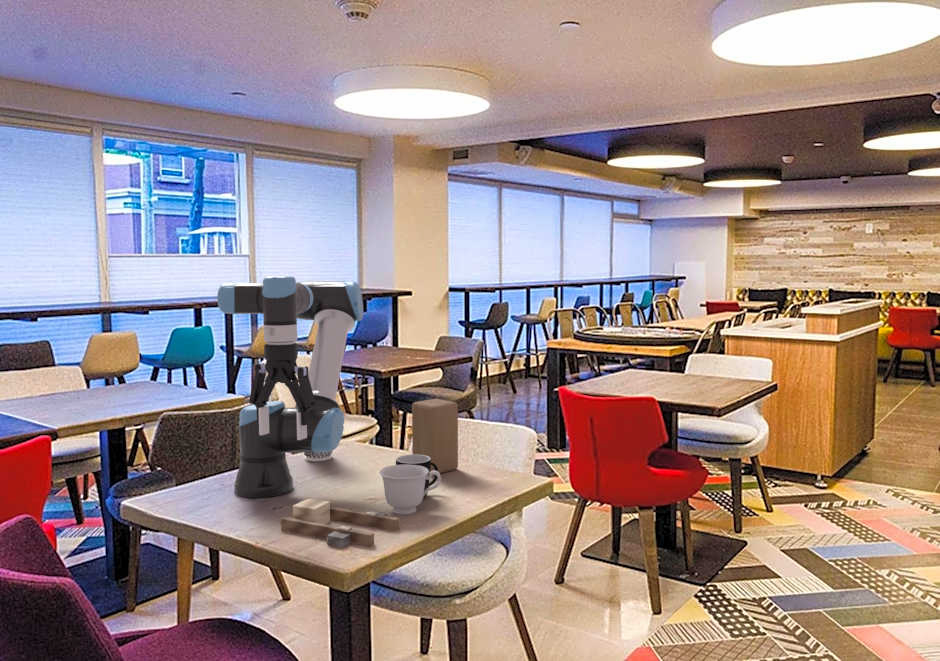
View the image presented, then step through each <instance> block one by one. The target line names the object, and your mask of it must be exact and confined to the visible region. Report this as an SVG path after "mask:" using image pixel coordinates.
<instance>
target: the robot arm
mask: <svg viewBox="0 0 940 661" xmlns="http://www.w3.org/2000/svg"><path fill="white" fill-rule="evenodd" d="M359 285H360V284H359V283H357V282H356V281H352V280H351V281H346V280H343V281H339V280H338V281H333V280H328V281H327V280H326V281H325V280H306V281H299V282H297V280H296V278H295V277H294V276H291V275H277V276H276V275H275V276H274V275H273V276H271V275H269V276H265V277H264V278H263V280H262V283H258V282H257V283H255V282H253V283H251V282H250V283H249V282H247V283H245V282H243V283H242V282H241V283H240V282H237V283H236V282H232V283H231V282H230V283H223V284H221V285H220V287H219V288H218V291H217V296H216V297H217V298H216V300H217V306H218V309H219V310H220V311H221V313H223V314H230V315H249V314H251V315H252V314H253V315H259V314H261V315H263V341H264V343H265V344H264V345H263V347H264V348H263V355H264V356H263V358H264V360H266V362H265V363H264V362H262V363H257V364H255V365H254V373H255V374H254V377H253V382H252V386H251V390H250V391H251V392H250V394H249V400H248V402H249V404H250V405H247V406H245V407H242V409H241V410H240V411H239V424H238V429H239V450H240V451H239V454H240V455H239V456H240V464H239V467H238V470H237V475H236V476H235V477H236V478H235V480H234V483H233V484H234V486H233V487H234V494H236V495H238V496H240V497H245V498H255V499H256V498H269V497H275V496H280V495H283V494H286V493H289V492H291V491H292V490H293V488H294V480H293V476H292V475H291V471H290V467H289V465H288V463H287V457H286V456H287V455H286V452H287V453H304V452H309V453H322V452H332V453H333V451H334V450H336V449H337V448H338V446H339V444H340V442H341V440H342V438H343V433H344V430H345V428H344V427H345V426H344V424H345V415H344V412H343V410H342V408H340V404H339V403H338V401H337V400H336V399H337V392H338V387H339V381H340V377H341V372H342V365H343V359H344V356H345V350H346V343H347V339H348V333H349V332H351V331H352V330H353V329H354V327H355V324H356V322H360V321H362V320H363V318H364V301H363V295H362V290H361V286H359ZM297 319H298V320H306V321H314V322H315V325H317V331H316V334H315V335H316V336H315V340H314V344H313V348H312V349H313V350H312V354H311V358H310V363H309V367H308V366H307V365H306V366H298V364H297V359H298V356H299V354H298V343H297V341H298V320H297ZM266 375H267V376H266ZM278 383H280V384H284V385H285V387H286V388H288V390H289V392H290V394H291V396H292V398H293V400H294V402H295V406H294V407H286V404H285V402H284V401H283V400H272V401H269V398H270V396H271V395H272V392H273V390H274V388H275V386H276V385H277V384H278Z"/></svg>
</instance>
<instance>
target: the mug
mask: <svg viewBox="0 0 940 661" xmlns="http://www.w3.org/2000/svg"><path fill="white" fill-rule="evenodd" d="M402 464H410V465H419V466H423V467H426V468H427V469H428V470H429V473H430V470H431V465H432V466H433V467H434V469H435V471H438V468H437V466H436V465H435V464H434V463H432V462H431V459H430V457H428V456H425V455H418V454H413V453H412V454H404V455H399V456H398V457H396V459H395V465H402ZM429 473H428V474H427V476H428V477H429ZM433 476H434V477H433V478H432V480H431V479H430V480H428V479H426V480H425V488H424V491H425V490H426V489H427V488H428V487H430V486H432V485H434V484H435V483H436V482H437V480H438V478H437V476H436V475H433ZM428 492H429V491H428ZM428 492H427V493H426V494H425V495H424V497H423V500H424V499H425V498H426V497H427V495H428Z"/></svg>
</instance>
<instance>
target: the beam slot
mask: <svg viewBox="0 0 940 661" xmlns="http://www.w3.org/2000/svg"><path fill="white" fill-rule="evenodd" d="M330 520H334V521H339V522H344V523H350V524H351V523H352V524H355V525H356V524H357V525H361V526H367V527H368V526H369V527H371V528H373V527H374V528H379V529H383V530H389V531H398V530H400V518H399V517H395V516H390V515H389V516H388V512H384V511H378V510H372V511H368V512H365V511H361V510H355V509H348V508H343V507H342V508H341V507H336V506H332V505H330ZM280 527H281V528H280V530H282V529H284V530H283V531H287V530H289V531H288V532H292V531H294V532H293V533H297V534H298V533H299V534H303V535H309V536H314V537H320V538H324V539H327V543H326V544H327V545H329V546H332V547H333V546H335V547H339V548H345V547H346V546H348V545H350V544H355V545H361V546H365V547H366V546H367V547H372V546H374V545H375V533H374V532H373V531H372V532H371V531H365V530H360V529H355V528H352V527H351V526H346V525H341V526H338V525H333V524H329V523H327V524H323V523H317V522H312V521H306V520H301V519H295V518H293V517H290V516H284V517H282V518H281V519H280Z"/></svg>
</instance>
